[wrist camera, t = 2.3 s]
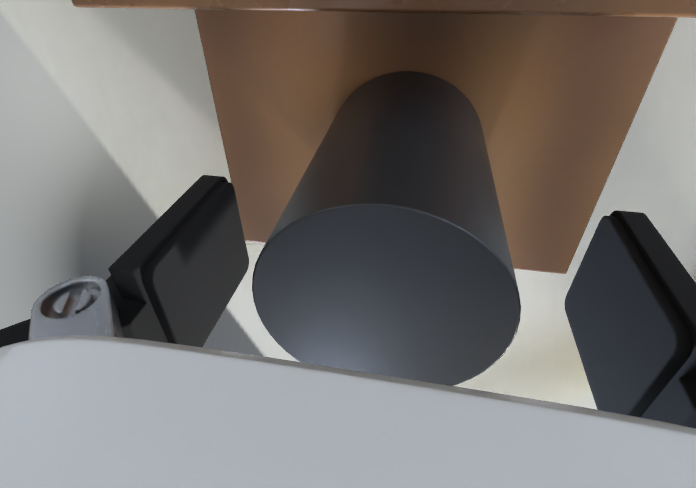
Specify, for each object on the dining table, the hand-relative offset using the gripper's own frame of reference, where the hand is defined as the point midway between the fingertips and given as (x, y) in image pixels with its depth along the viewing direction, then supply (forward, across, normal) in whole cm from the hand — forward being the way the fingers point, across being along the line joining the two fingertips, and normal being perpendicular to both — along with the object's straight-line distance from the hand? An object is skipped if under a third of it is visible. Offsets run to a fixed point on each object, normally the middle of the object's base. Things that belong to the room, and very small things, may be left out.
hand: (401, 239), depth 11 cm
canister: (+5, 0, 0) cm, 5 cm away
